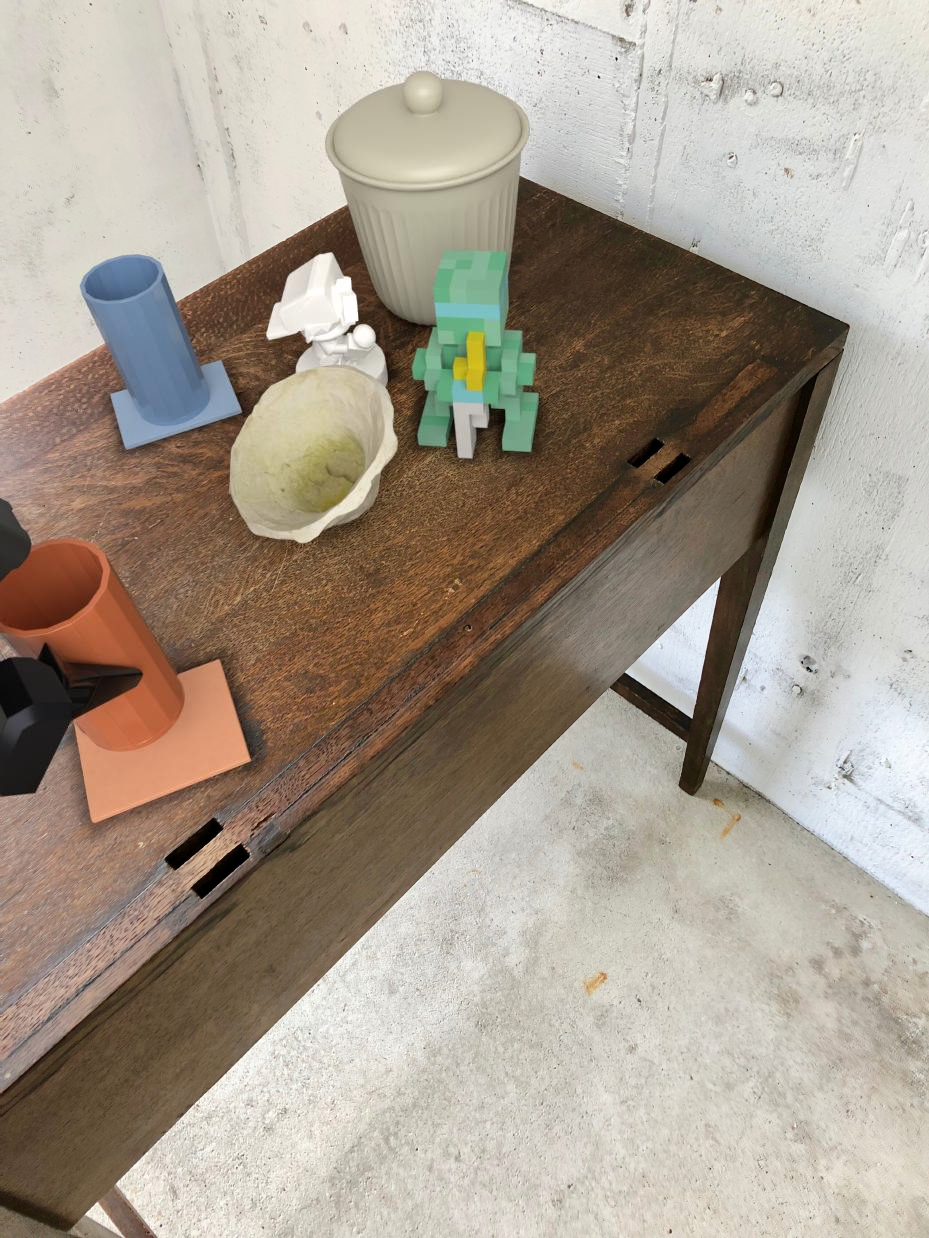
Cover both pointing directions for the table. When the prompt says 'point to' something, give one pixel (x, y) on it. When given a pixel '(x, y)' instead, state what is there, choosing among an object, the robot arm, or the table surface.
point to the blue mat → (144, 432)
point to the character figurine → (326, 319)
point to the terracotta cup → (92, 637)
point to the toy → (474, 357)
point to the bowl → (312, 452)
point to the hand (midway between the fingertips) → (115, 638)
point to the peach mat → (169, 750)
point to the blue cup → (146, 338)
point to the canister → (428, 180)
